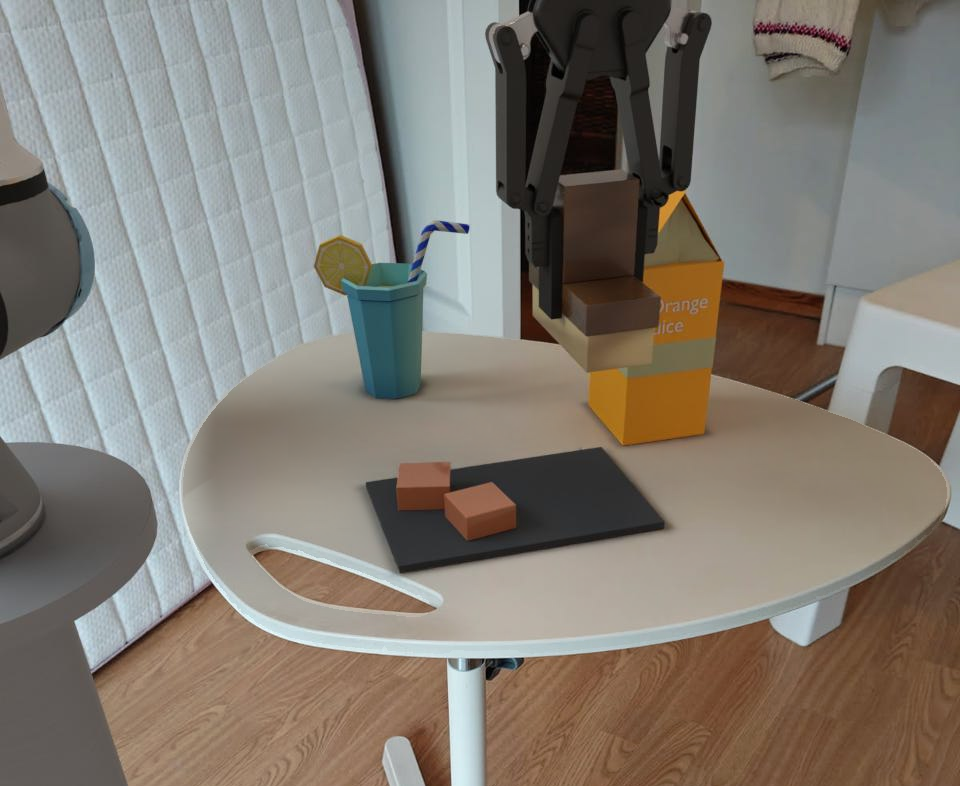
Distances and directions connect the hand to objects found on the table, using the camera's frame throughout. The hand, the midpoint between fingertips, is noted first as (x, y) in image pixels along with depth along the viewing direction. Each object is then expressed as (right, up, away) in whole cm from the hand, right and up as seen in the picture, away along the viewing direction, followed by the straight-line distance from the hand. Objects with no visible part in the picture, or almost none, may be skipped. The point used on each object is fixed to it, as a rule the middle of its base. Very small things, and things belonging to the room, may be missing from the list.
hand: (589, 306), depth 70 cm
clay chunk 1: (-12, -12, +9) cm, 19 cm away
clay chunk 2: (-7, -14, +5) cm, 17 cm away
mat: (-5, -13, +8) cm, 16 cm away
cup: (-15, +1, +28) cm, 32 cm away
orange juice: (+7, -3, +21) cm, 22 cm away
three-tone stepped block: (0, -2, +1) cm, 2 cm away
